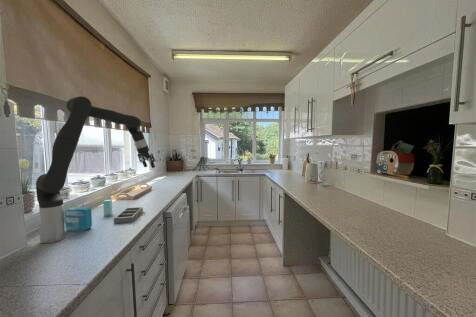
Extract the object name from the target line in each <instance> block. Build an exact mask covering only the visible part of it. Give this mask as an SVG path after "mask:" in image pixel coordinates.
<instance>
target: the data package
mask: <svg viewBox="0 0 476 317" xmlns="http://www.w3.org/2000/svg"><path fill="white" fill-rule="evenodd" d="M92 217H93V216H92V208H91V207H89V206H88V207H87V206H86V207H85V206H84V207H81V206H80V207H77V206H76V207H70V208H68V209H65V210H64V227H65V231H68V232H69V231H74V232H75V231H76V232H79V231H80V232H83V231H87V230H89V229H91V227H93V219H92Z"/></svg>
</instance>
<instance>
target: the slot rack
mask: <svg viewBox="0 0 476 317" xmlns="http://www.w3.org/2000/svg"><path fill="white" fill-rule="evenodd" d="M143 208H144V207H143V206H141V207H139V206H137V207H135V206H134V207H126V208H125V209H124V210H122V211H121V212H120V213H119V214H117V215H116V216H114V217H113V224H126V223H127V224H129V223H134V221H135V220H137V219H138V218H139V216H140V215H142V214H143V213H144V212H143V211H144V209H143Z"/></svg>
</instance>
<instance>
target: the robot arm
mask: <svg viewBox="0 0 476 317" xmlns="http://www.w3.org/2000/svg"><path fill="white" fill-rule="evenodd" d="M65 105H66V109H67V111H69V116H68V119H67V120H66V121H65V123H64V124H63V125H62V127H61V128H60V129H59V131H58V132H57V134H56V136H55V139H54V142H53V144H52V151H51V152H52V153H51V154H52V156H51V163H50V166H49V168H48V171H47V173H43V174H41V175H40V176H38V177H37V179H36V181H35V191H36V199H37V203H38V208H39V211H38V212H39V225H38V230H39V244H54V243H56V242H58V241H61V240H64V239H65V237H66V227H65V210H64V199H63V197H62V195H61V190H62V189H63V188H64V186H65V183H66V180H67V175H68V170H69V167H70V165H71V162H72V160H73V157H74V154H75V151H76V149H77V146H78V144H79V141H80V138H81V135H82V132H83V128H84V126H85V123H86V121H87V119H88V117H92V118H96V119H100V120H104V121H107V122H110V123H113V124H117V125H121V126H123V125H125V127H126V130H128V132H129V134H130V135H131V137H132V140H133V143H134V146H135V149H136V151H137V157H138V160H139V163H142V165H143V167H144V168H147V167H148V164H147V162H149V164H150V166H151V169H154V168H155V167H156V166H155V163H154V162H156V159H155V157H154V154H153V153H150V148H149V145H148V143H147V140H146V138H145V136H144V133H143V131H142V130H141V129H139V128H140V126H141V125H142V122H141V119H140V118H139V117H138V116H135V115H130V114H125V113H122V112H118V111H116V110H112V109H108V108H102V107H98V106H94V105H92V102H91V100H90V99H89V98H88V97H86V96H75V97H72V98H69V99H68V100H67V102H66V104H65Z"/></svg>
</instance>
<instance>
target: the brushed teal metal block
mask: <svg viewBox="0 0 476 317" xmlns="http://www.w3.org/2000/svg"><path fill="white" fill-rule="evenodd" d="M102 203H103V204H102V205H103V206H102V207H103V216H104V217H107V216H108V217H110V216H112V215H113V200H112V199H105V200H103V201H102Z"/></svg>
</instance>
